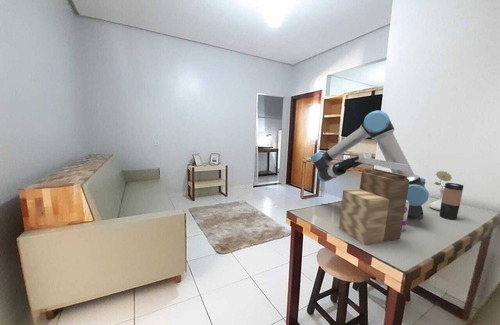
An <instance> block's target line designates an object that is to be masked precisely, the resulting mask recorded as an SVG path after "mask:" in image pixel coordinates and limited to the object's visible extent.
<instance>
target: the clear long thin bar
mask: <svg viewBox="0 0 500 325" xmlns="http://www.w3.org/2000/svg"><path fill="white" fill-rule="evenodd" d="M356 156H357V155H349V158H350V159H351V158H354V157H356ZM358 162H361V163H363V164H367V165H372V166H376V167H377V166H378V167H382V168H387V169H390V170H391V169H395V170H400V171H409V170H410V167H411V165H410V164H409V165H406V164H400V163H394V162H389V161H386V160H381V159H375V158H364V159H362V160H360V161H358Z"/></svg>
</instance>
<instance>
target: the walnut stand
mask: <svg viewBox="0 0 500 325" xmlns="http://www.w3.org/2000/svg"><path fill="white" fill-rule="evenodd" d="M409 181H410V179H407V176H405V175H400V174H396V173H392V171H386V170H382V169H378V168H373V169H369V168H365V170H364V171H362V172H361V175H360V184H359V188H354V189H352V188H351V189H343V190H342V196H341V197H342V198H341V206H340V215H339V223H338V228H339V229H340V230H342V231H344V232H345V233H347V235H349V236H351V237H353V238H354V239H355V240H357V241H358V242H360V243H362V244H363V245H365V246H367V245H372V244H378V243H379V244H380V243H384V242H390V241H396V240H397V241H398V240H400V239H401V235H402V231H401V230H402V224H403V218H404V212H405V206H406V200H407V193H408V187H409Z"/></svg>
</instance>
